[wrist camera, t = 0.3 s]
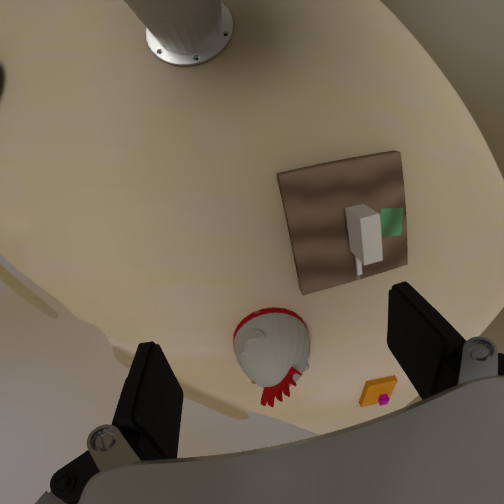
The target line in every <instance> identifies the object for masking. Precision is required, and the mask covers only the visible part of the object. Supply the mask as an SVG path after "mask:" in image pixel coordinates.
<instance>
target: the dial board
mask: <svg viewBox="0 0 504 504" xmlns="http://www.w3.org/2000/svg"><path fill="white" fill-rule="evenodd" d="M276 175H277V179H278V184H279V188H280V193H281V197H282V202H283V206H284V211H285V216H286V221H287V226H288V230H289V235H290V240H291V245H292V250H293V255H294V260H295V265H296V271H297V276H298V281H299V286H300V290H301V293H302V295H305V294H309V293H313V292H316V291H320V290H324V289H327V288H331V287H334V286H338V285H341V284H345V283H348V282H352V281H355V280H358V279H362V278H365V277H369V276H372V275H375V274H378V273H382V272H385V271H388V270H391V269H395V268H398V267H401V266H404V265H407V222H406V205H405V192H404V181H403V171H402V162H401V154H400V152H399V151H388V152H382V153H376V154H370V155H364V156H359V157H353V158H348V159H343V160H337V161H332V162H327V163H322V164H317V165H313V166H308V167H303V168H299V169H294V170H289V171H285V172H281V173H276ZM359 204H365V205H366V206H368V207H370V208H371V209H373V210H374V211H376V212H378V213H379V214H380V223H381V236H382V253H383V260H382V261H378V262H375V263H372V264H368V265H365V266H364V265H363V264H362V274H361V275H357V271H356V260H355V255H354V254H353V253H352V252H351V251H350V243H349V234H348V229H347V218H346V211H345V208H347V207H351V206H355V205H359Z"/></svg>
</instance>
